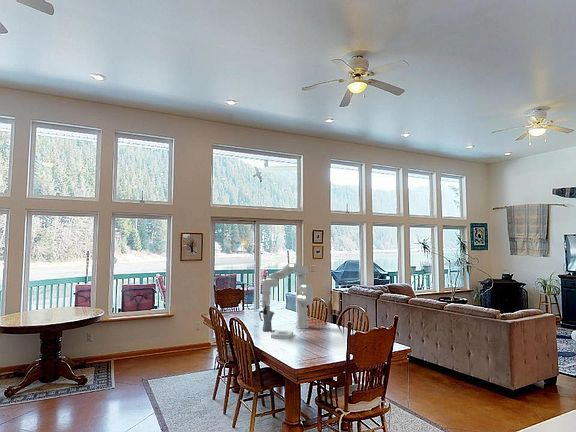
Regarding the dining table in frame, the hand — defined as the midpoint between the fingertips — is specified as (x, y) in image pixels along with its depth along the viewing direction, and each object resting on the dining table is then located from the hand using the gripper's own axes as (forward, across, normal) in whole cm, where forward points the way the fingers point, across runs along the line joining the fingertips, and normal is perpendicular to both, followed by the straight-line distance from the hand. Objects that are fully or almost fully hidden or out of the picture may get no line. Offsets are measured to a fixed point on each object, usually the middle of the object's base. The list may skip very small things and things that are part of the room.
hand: (266, 313), depth 336 cm
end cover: (+4, 0, 0) cm, 4 cm away
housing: (+19, -2, +14) cm, 24 cm away
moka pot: (+20, -20, -6) cm, 29 cm away
